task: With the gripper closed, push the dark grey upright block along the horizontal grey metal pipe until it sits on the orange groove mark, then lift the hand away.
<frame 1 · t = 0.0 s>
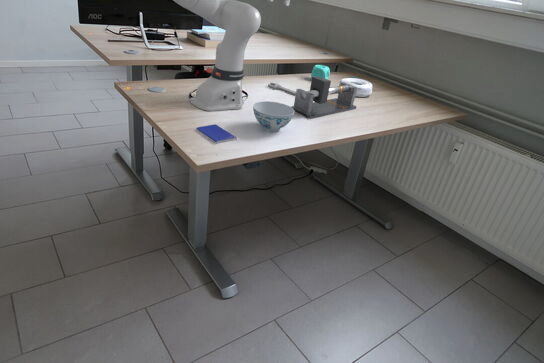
hand: (278, 3, 155), 39 cm above the table, tool pointing down, fingers open, 8 cm apart
adjustable wrench: (287, 93, 183), on the table
chinaware: (271, 128, 140), on the table
decorative dice: (319, 81, 210), on the table
pipe stand: (324, 109, 168), on the table
dark grey upright block: (319, 90, 160), point 9 cm above the table, slide at 0.0 cm
hard drive: (216, 136, 129), on the table
cable: (354, 93, 199), on the table
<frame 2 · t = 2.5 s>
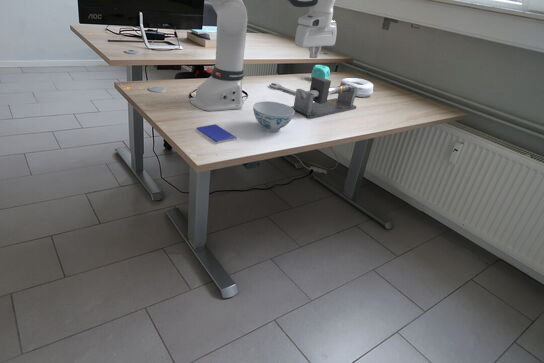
hand: (313, 58, 148), 23 cm above the table, tool pointing down, fingers closed
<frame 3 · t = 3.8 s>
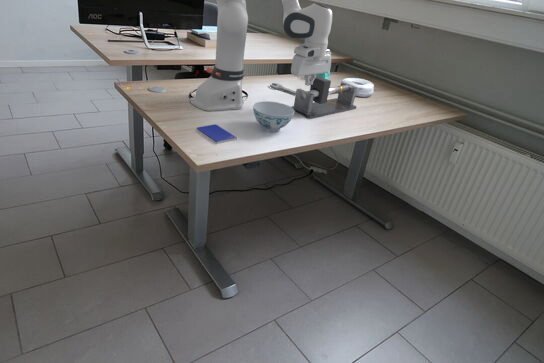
hand: (308, 85, 153), 12 cm above the table, tool pointing down, fingers closed
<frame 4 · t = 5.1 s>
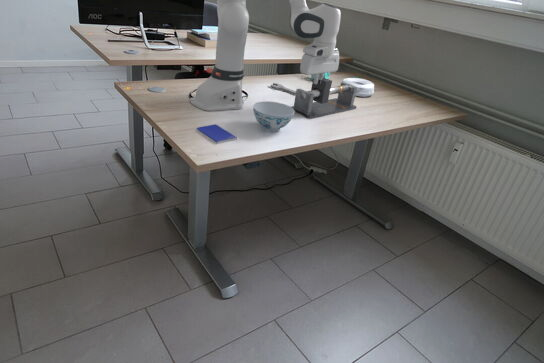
hand: (317, 83, 156), 12 cm above the table, tool pointing down, fingers closed
dark grey upright block: (320, 89, 160), point 9 cm above the table, slide at 0.8 cm, touching gripper
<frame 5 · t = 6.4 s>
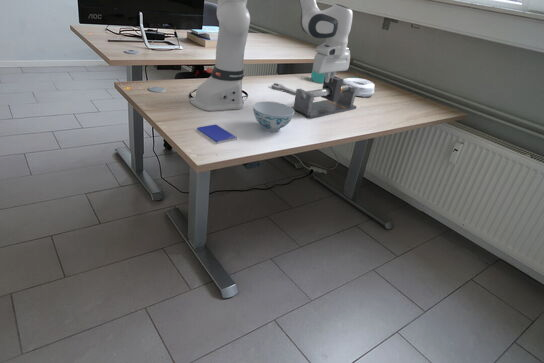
hand: (328, 82, 161), 12 cm above the table, tool pointing down, fingers closed
dark grey upright block: (331, 88, 165), point 9 cm above the table, slide at 8.4 cm, touching gripper
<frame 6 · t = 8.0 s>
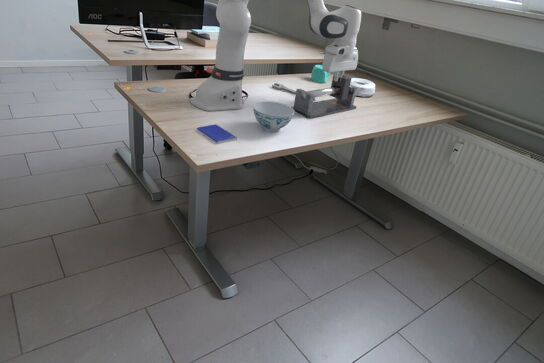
hand: (337, 80, 165), 12 cm above the table, tool pointing down, fingers closed
dark grey upright block: (340, 86, 169), point 9 cm above the table, slide at 14.4 cm, touching gripper
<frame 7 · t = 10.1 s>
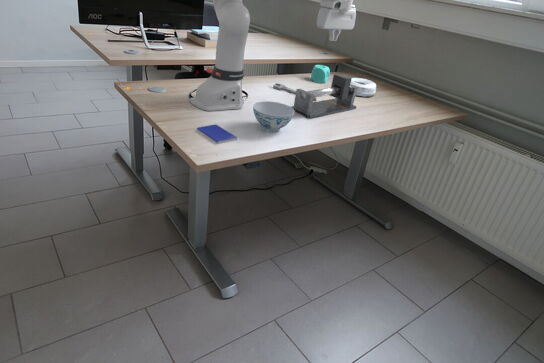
hand: (332, 40, 153), 29 cm above the table, tool pointing down, fingers closed
dark grey upright block: (340, 86, 169), point 9 cm above the table, slide at 14.5 cm
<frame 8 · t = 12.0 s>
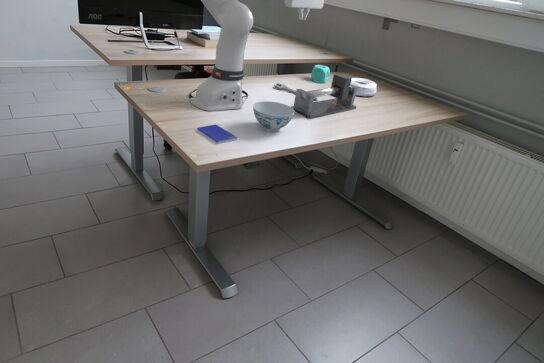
hand: (302, 19, 157), 34 cm above the table, tool pointing down, fingers closed
at the end: dark grey upright block slide at 14.5 cm; the gripper is holding nothing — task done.
